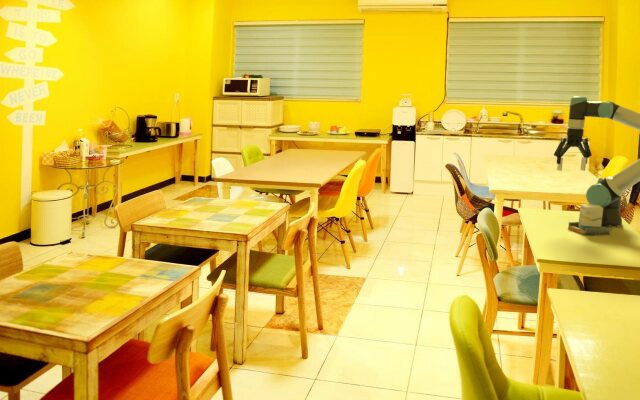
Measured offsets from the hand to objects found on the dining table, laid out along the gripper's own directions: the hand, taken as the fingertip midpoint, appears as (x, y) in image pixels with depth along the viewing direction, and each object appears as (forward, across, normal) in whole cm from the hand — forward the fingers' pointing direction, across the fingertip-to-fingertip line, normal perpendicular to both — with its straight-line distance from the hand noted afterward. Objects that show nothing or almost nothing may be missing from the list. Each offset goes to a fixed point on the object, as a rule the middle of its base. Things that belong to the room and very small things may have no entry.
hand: (571, 170), depth 315 cm
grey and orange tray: (+27, +2, +20) cm, 34 cm away
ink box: (+26, +2, +21) cm, 33 cm away
